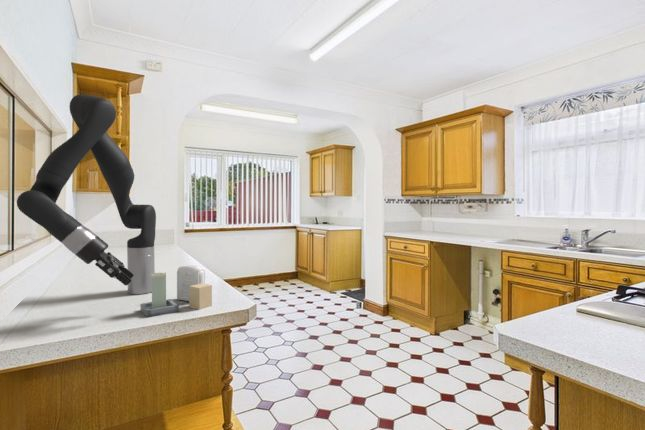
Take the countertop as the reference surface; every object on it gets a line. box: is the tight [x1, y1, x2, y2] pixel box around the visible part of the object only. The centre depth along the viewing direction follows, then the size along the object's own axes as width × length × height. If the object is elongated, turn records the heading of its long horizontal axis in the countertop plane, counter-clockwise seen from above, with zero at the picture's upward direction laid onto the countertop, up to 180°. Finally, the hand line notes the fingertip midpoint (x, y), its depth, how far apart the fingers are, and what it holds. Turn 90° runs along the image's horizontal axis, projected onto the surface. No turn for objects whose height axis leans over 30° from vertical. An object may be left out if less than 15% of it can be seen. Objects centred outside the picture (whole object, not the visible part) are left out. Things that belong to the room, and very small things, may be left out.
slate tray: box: [140, 298, 180, 318], centre depth 113 cm, size 9×9×2 cm
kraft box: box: [188, 283, 213, 311], centre depth 118 cm, size 5×5×7 cm
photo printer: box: [176, 264, 206, 302], centre depth 125 cm, size 10×4×12 cm, turn 69°
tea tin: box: [151, 271, 167, 309], centre depth 113 cm, size 4×4×11 cm
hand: (130, 280), depth 109 cm, fingers open, 8 cm apart
